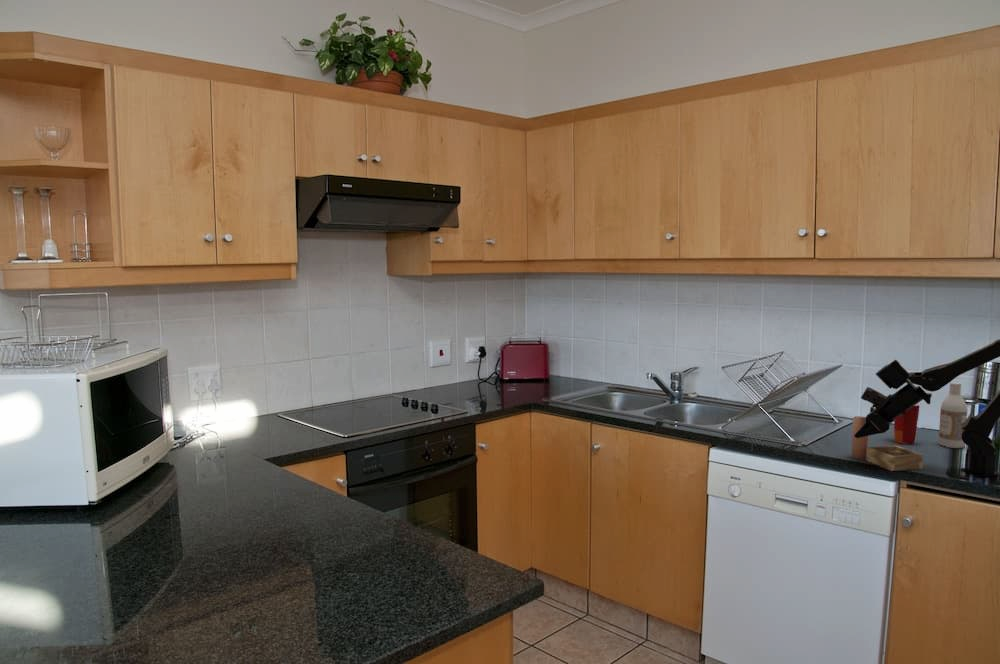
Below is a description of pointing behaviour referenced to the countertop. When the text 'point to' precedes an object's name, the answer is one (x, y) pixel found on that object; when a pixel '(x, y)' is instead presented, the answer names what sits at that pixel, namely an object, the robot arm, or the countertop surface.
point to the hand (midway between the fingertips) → (857, 433)
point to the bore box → (894, 458)
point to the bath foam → (952, 418)
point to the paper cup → (906, 426)
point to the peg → (859, 439)
